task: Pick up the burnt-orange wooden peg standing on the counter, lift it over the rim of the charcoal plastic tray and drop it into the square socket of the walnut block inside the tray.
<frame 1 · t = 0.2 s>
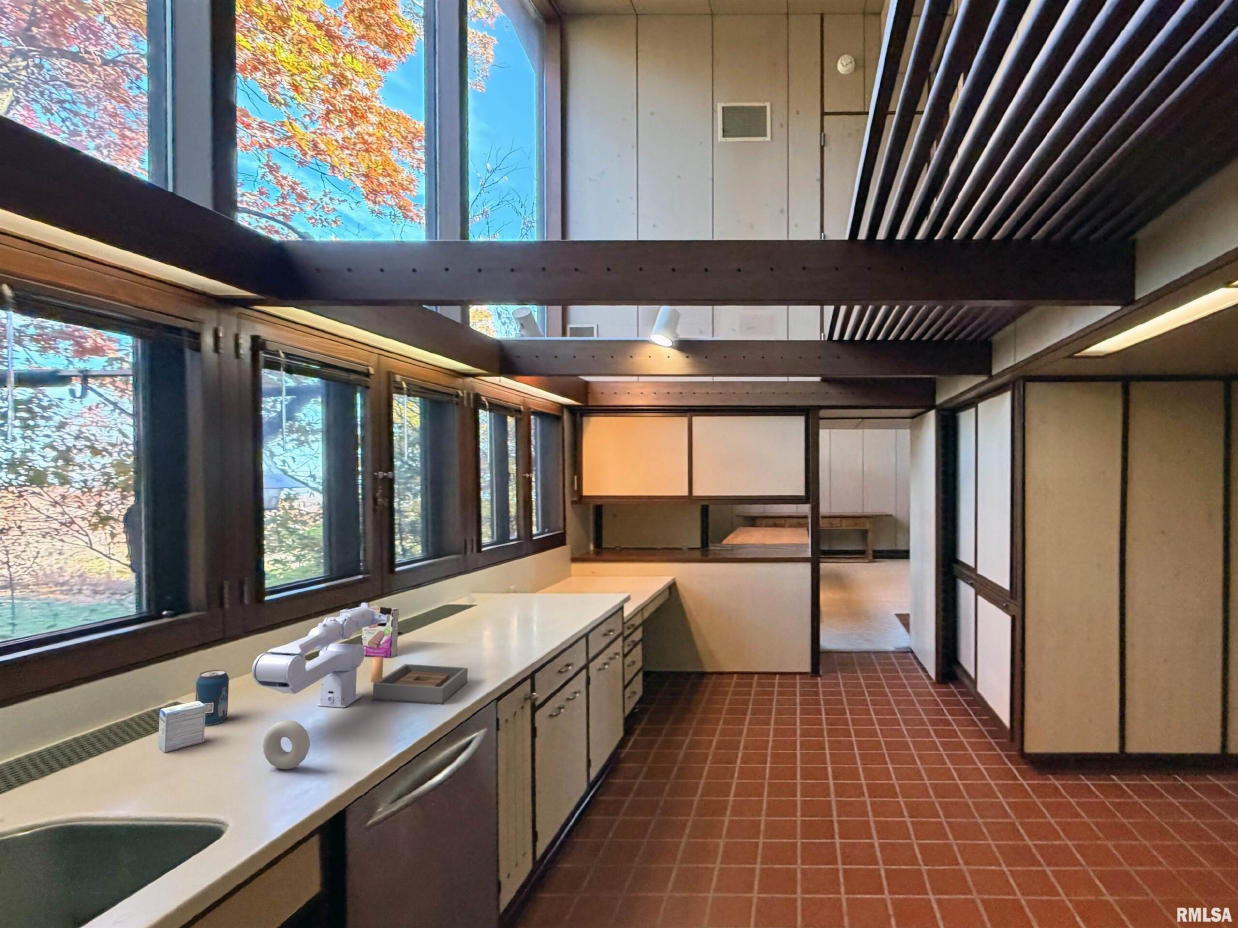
hand: (378, 610, 197), 21 cm above the worktop, tool horizontal, fingers open, 7 cm apart
medicine box: (181, 746, 146), on the worktop
soda can: (210, 722, 160), on the worktop
peg: (376, 681, 195), on the worktop
tray: (422, 690, 187), on the worktop
candy bar box: (379, 656, 223), on the worktop
donut: (285, 769, 135), on the worktop
socket block: (422, 683, 187), in the tray, point 2 cm above the worktop
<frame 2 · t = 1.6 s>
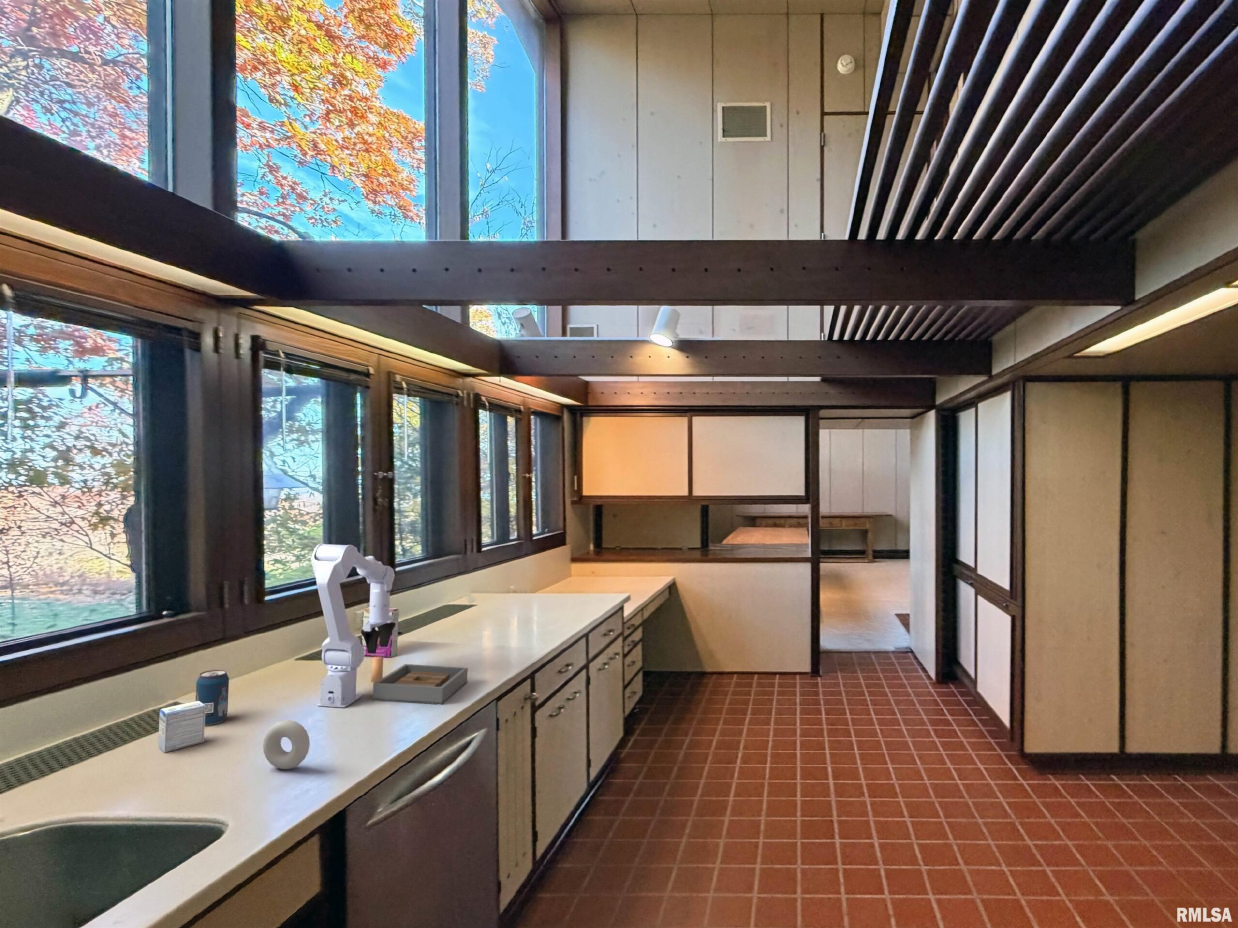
hand: (377, 650, 195), 9 cm above the worktop, tool pointing down, fingers open, 7 cm apart
nothing on the worktop moved.
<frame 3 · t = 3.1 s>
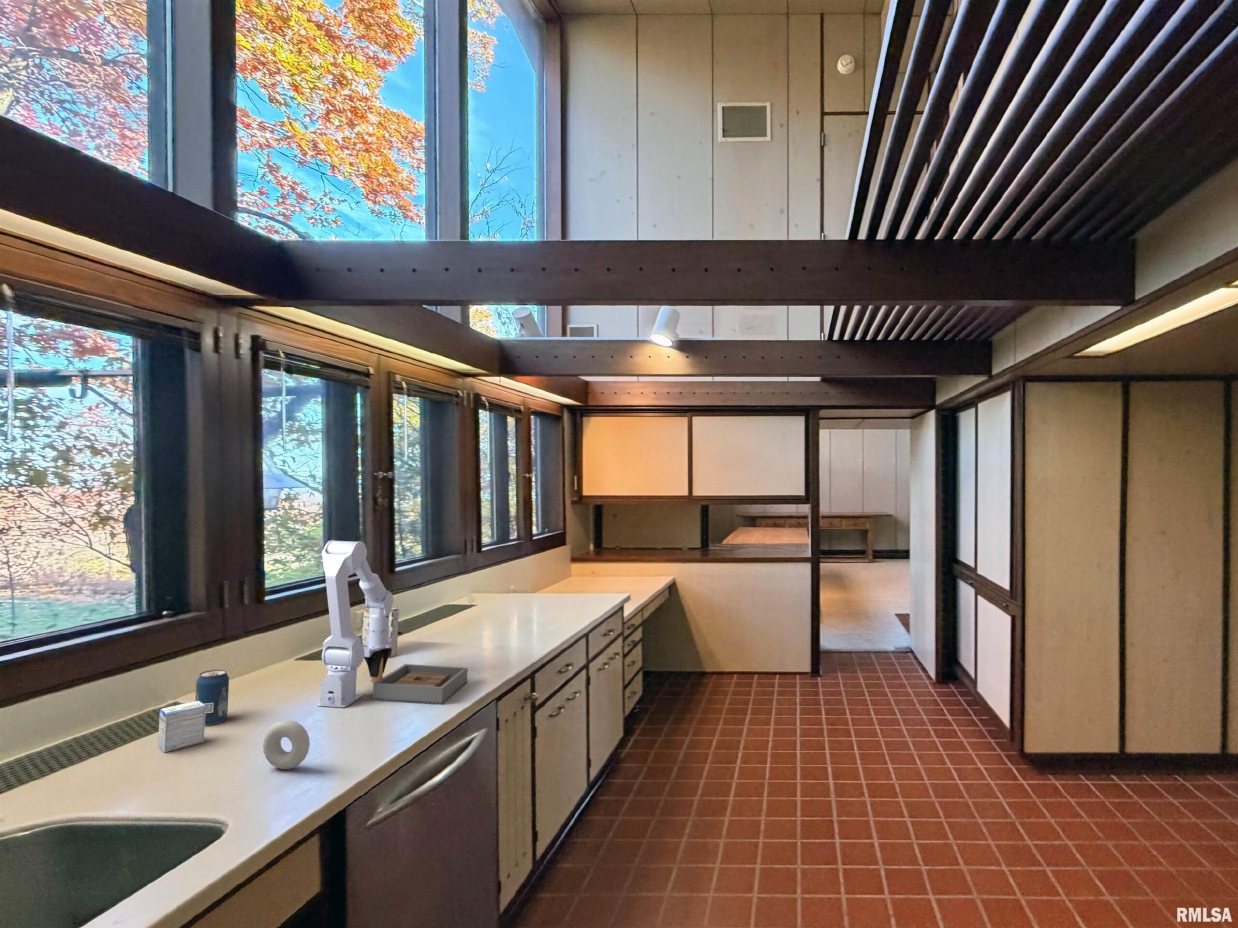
hand: (377, 674, 195), 2 cm above the worktop, tool pointing down, fingers closed on peg, 3 cm apart
peg: (376, 681, 195), on the worktop, touching gripper
everything else where it was.
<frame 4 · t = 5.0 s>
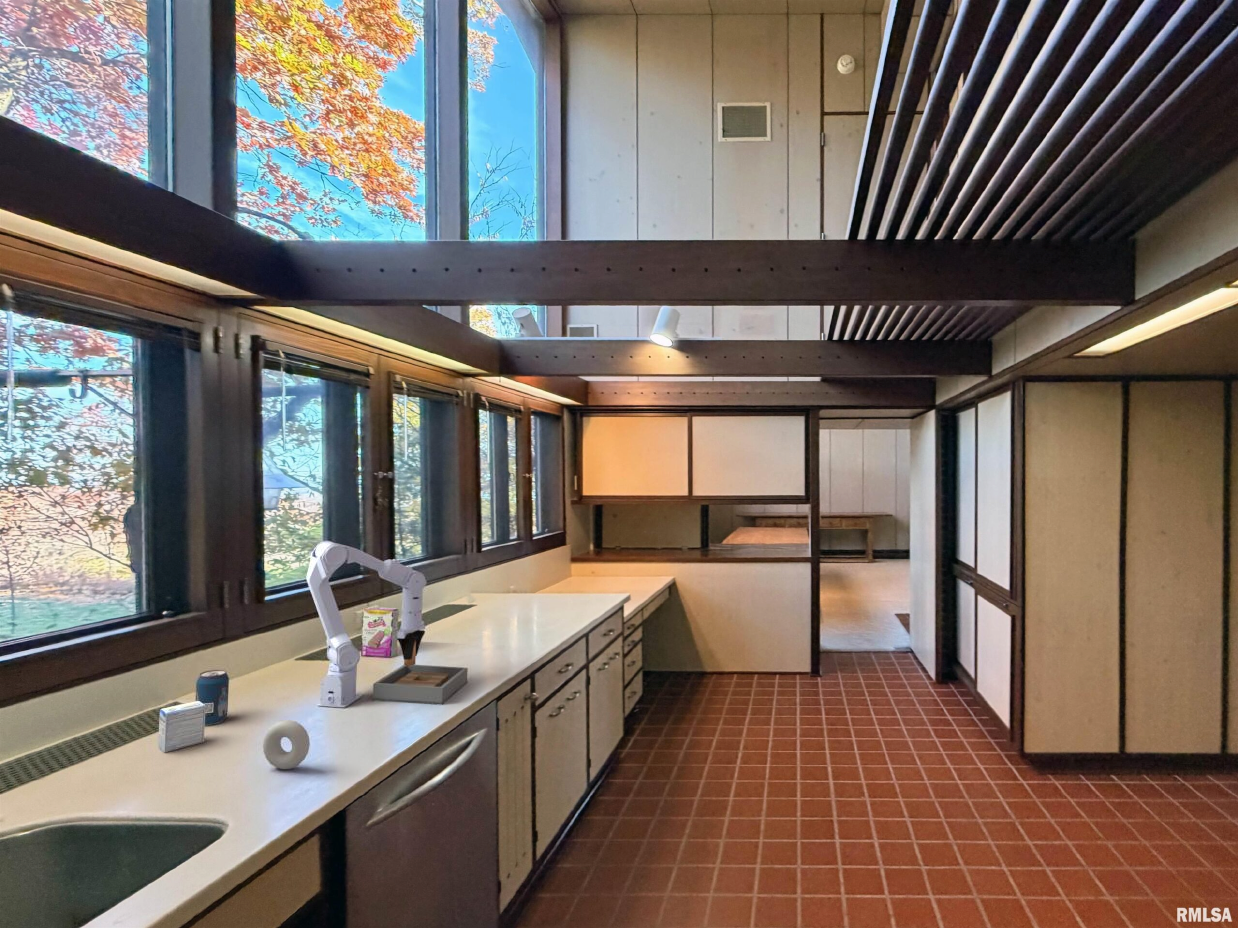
hand: (410, 657, 190), 9 cm above the worktop, tool pointing down, fingers closed on peg, 3 cm apart
peg: (409, 664, 190), point 7 cm above the worktop, touching gripper
everything else where it was.
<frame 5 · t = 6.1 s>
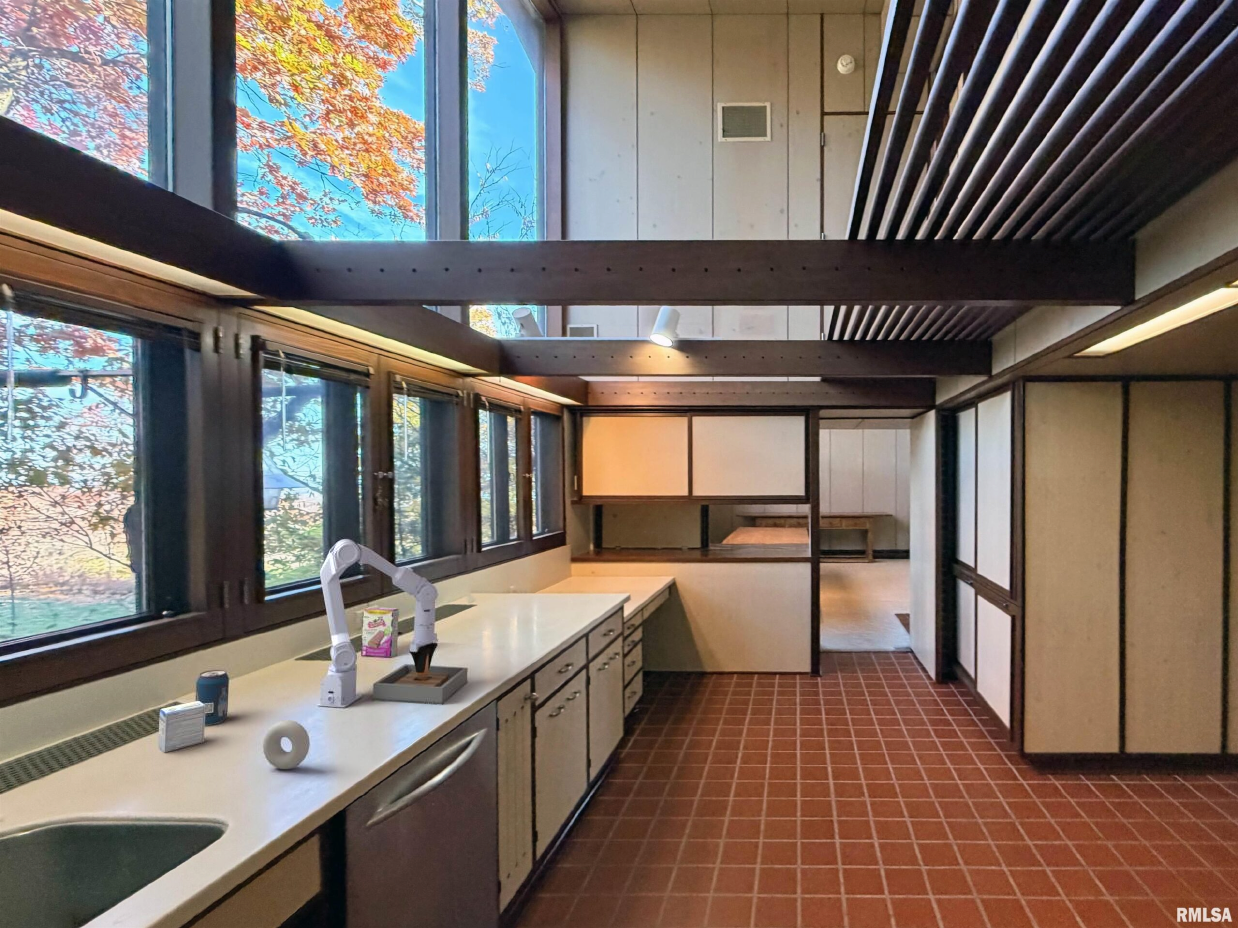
hand: (422, 670, 187), 6 cm above the worktop, tool pointing down, fingers closed on peg, 3 cm apart
peg: (422, 677, 187), point 4 cm above the worktop, touching gripper
everything else where it was.
when the fingers open (5 cm above the worktop, at t = 6.8 s): peg drops 2 cm, resting on tray.
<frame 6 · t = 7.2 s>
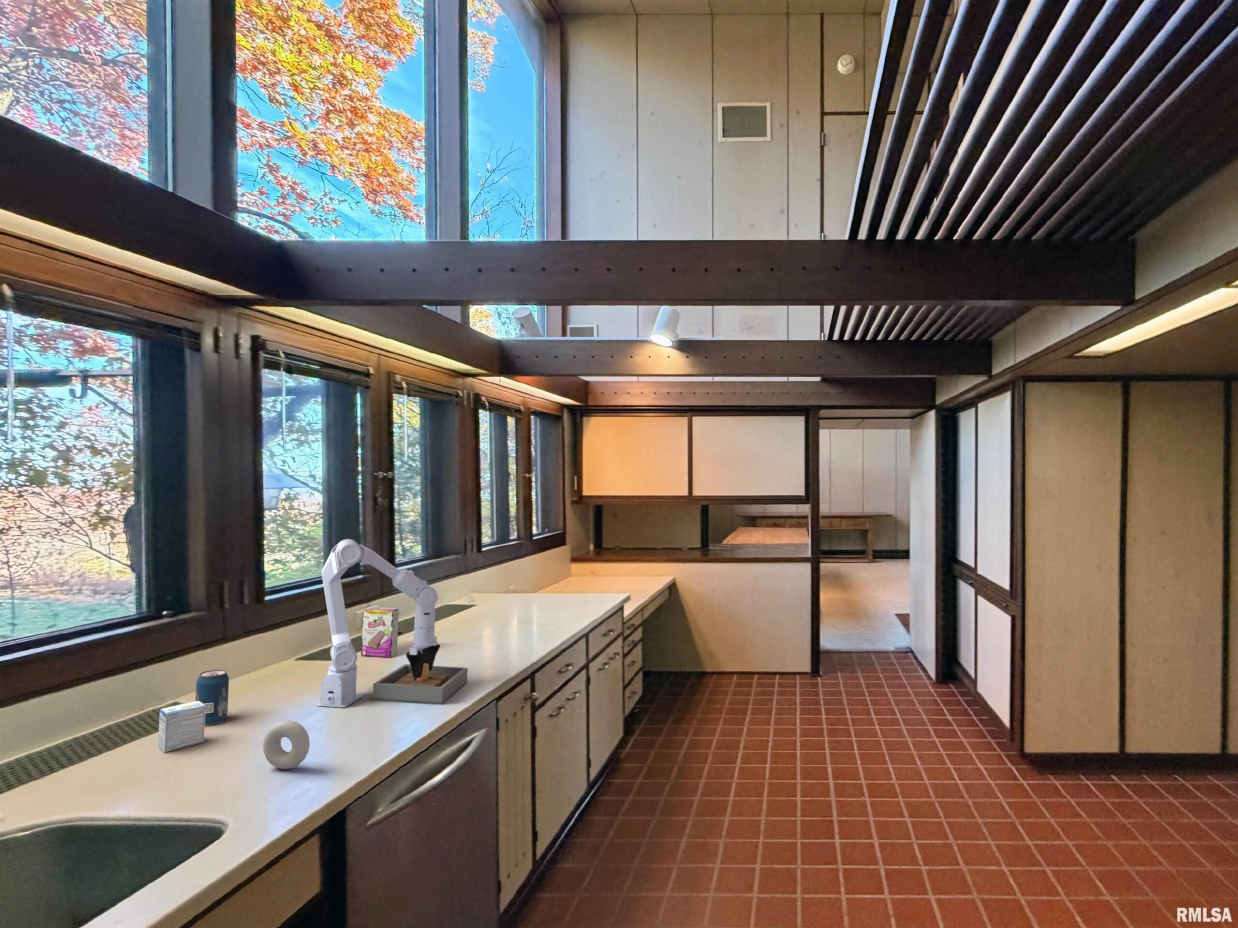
hand: (422, 673, 187), 5 cm above the worktop, tool pointing down, fingers open, 7 cm apart
peg: (421, 688, 187), point 1 cm above the worktop, touching tray
everything else where it was.
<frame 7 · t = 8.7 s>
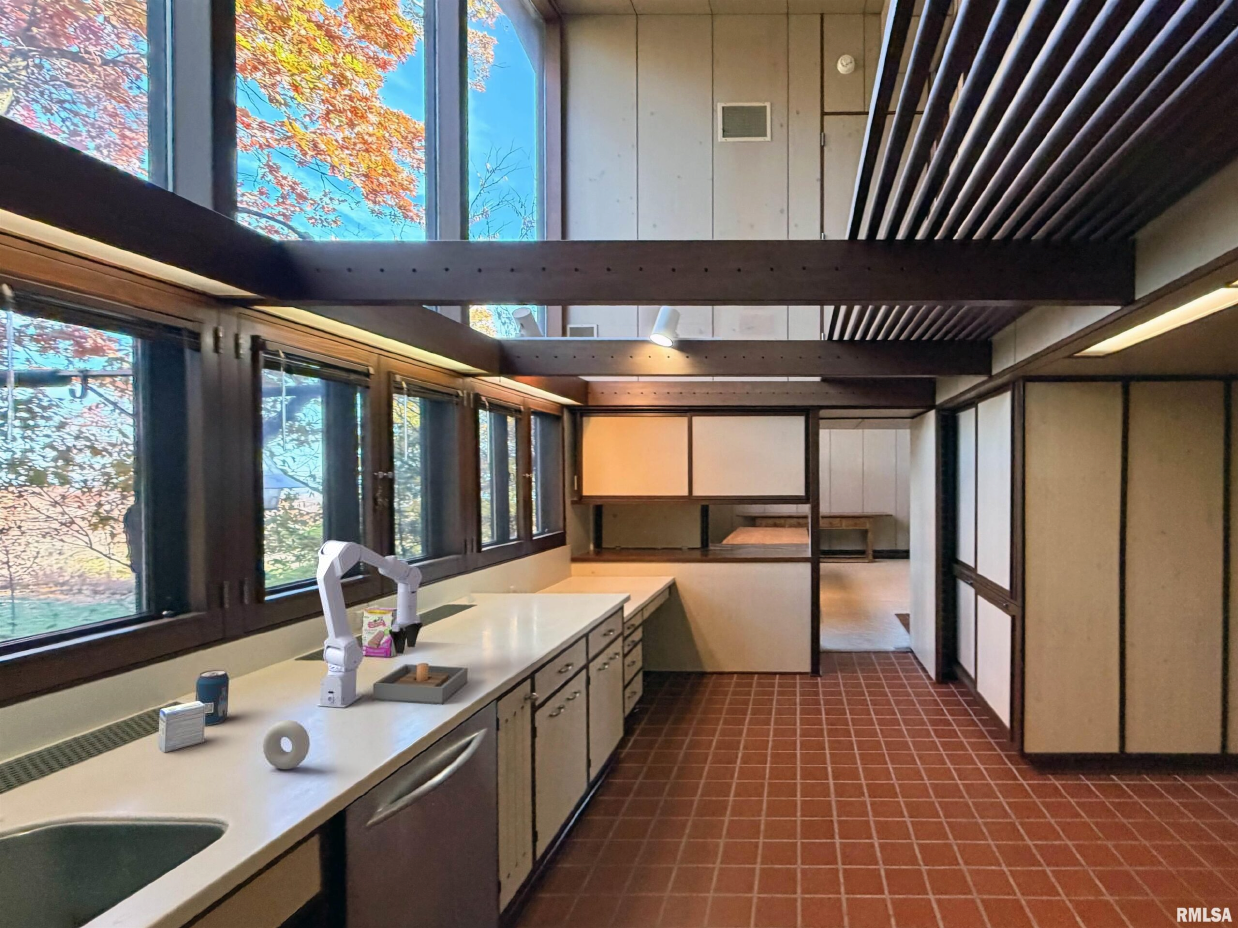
hand: (405, 650, 196), 9 cm above the worktop, tool pointing down, fingers open, 7 cm apart
nothing on the worktop moved.
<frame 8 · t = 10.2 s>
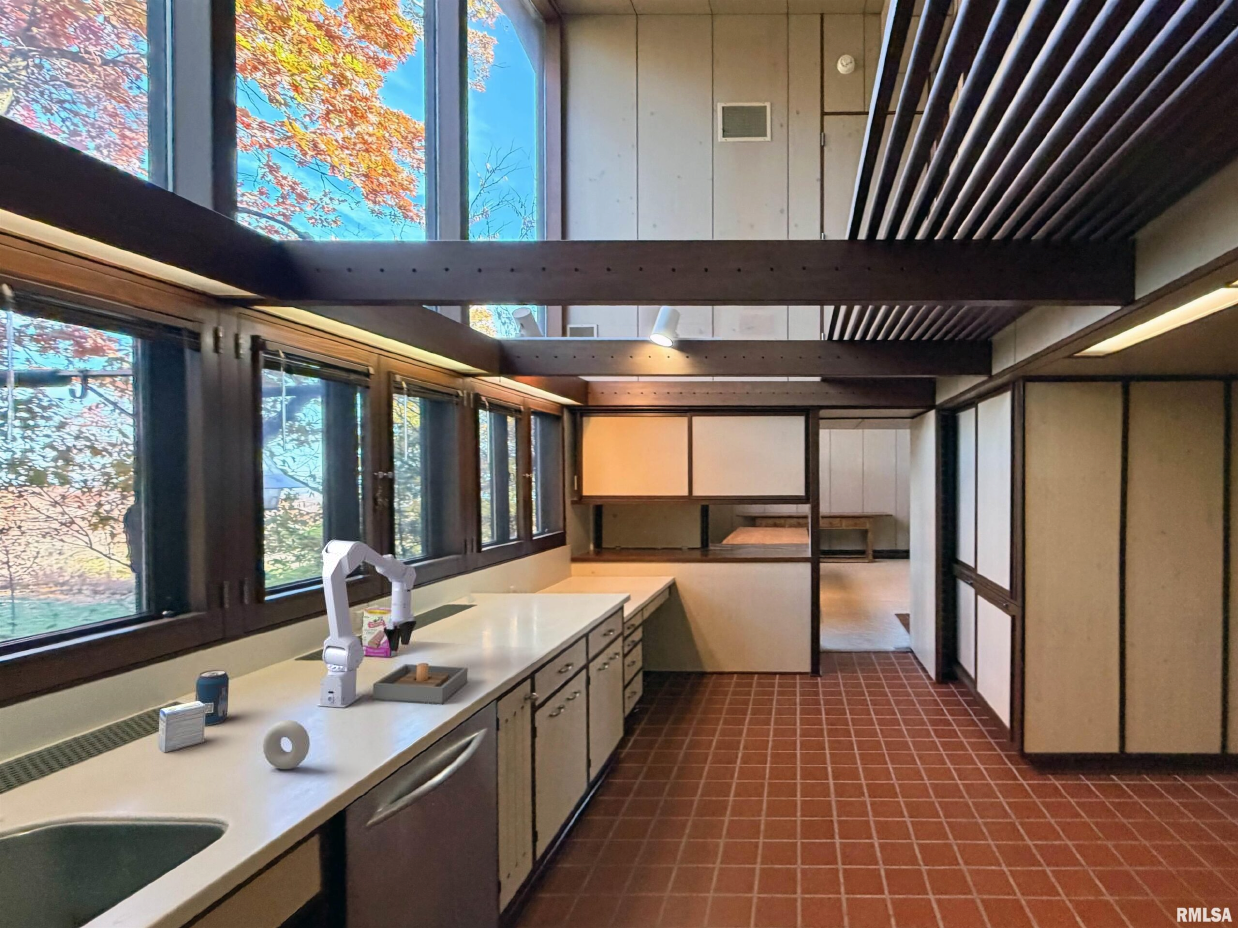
hand: (399, 647, 199), 9 cm above the worktop, tool pointing down, fingers open, 7 cm apart
nothing on the worktop moved.
at the end: peg 0.1 cm off-centre on the socket block, point 0.6 cm above the socket block's base; peg tilted 0°; the gripper is holding nothing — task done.
